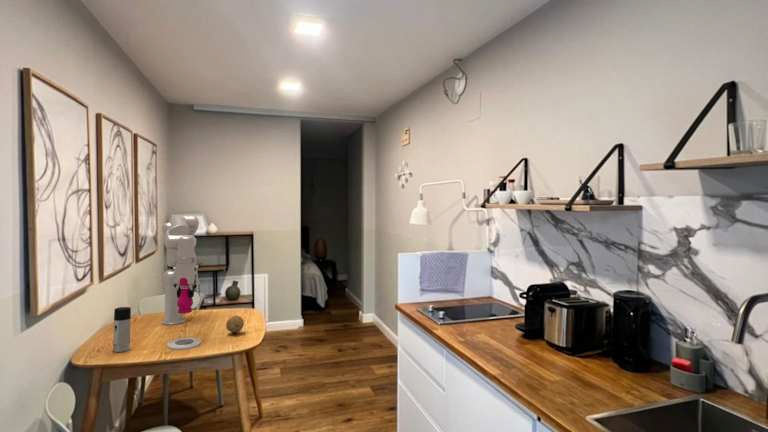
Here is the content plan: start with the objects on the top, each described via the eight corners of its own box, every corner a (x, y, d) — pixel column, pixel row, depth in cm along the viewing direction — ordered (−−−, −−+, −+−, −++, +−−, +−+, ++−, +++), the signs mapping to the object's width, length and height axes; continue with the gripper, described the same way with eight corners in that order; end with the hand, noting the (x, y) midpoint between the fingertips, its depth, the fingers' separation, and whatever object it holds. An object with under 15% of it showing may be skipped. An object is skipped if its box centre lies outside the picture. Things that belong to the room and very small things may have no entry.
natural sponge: (237, 337, 216) (237, 318, 216) (222, 335, 217) (222, 317, 217) (246, 332, 225) (246, 314, 224) (232, 331, 226) (232, 313, 226)
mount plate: (177, 339, 210) (177, 336, 210) (206, 340, 210) (206, 337, 210) (161, 349, 195) (161, 346, 195) (192, 350, 195) (192, 347, 195)
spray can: (118, 347, 196) (118, 306, 195) (132, 347, 196) (133, 306, 196) (110, 352, 189) (110, 310, 189) (125, 352, 190) (126, 310, 189)
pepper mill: (186, 314, 198) (187, 273, 197) (173, 313, 199) (174, 272, 199) (196, 310, 205) (196, 271, 204) (183, 309, 206) (184, 270, 206)
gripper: (206, 260, 205) (205, 296, 206) (173, 259, 206) (172, 295, 206) (199, 262, 198) (198, 299, 198) (164, 261, 198) (164, 298, 198)
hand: (185, 297), depth 202 cm, fingers closed on pepper mill, 5 cm apart
